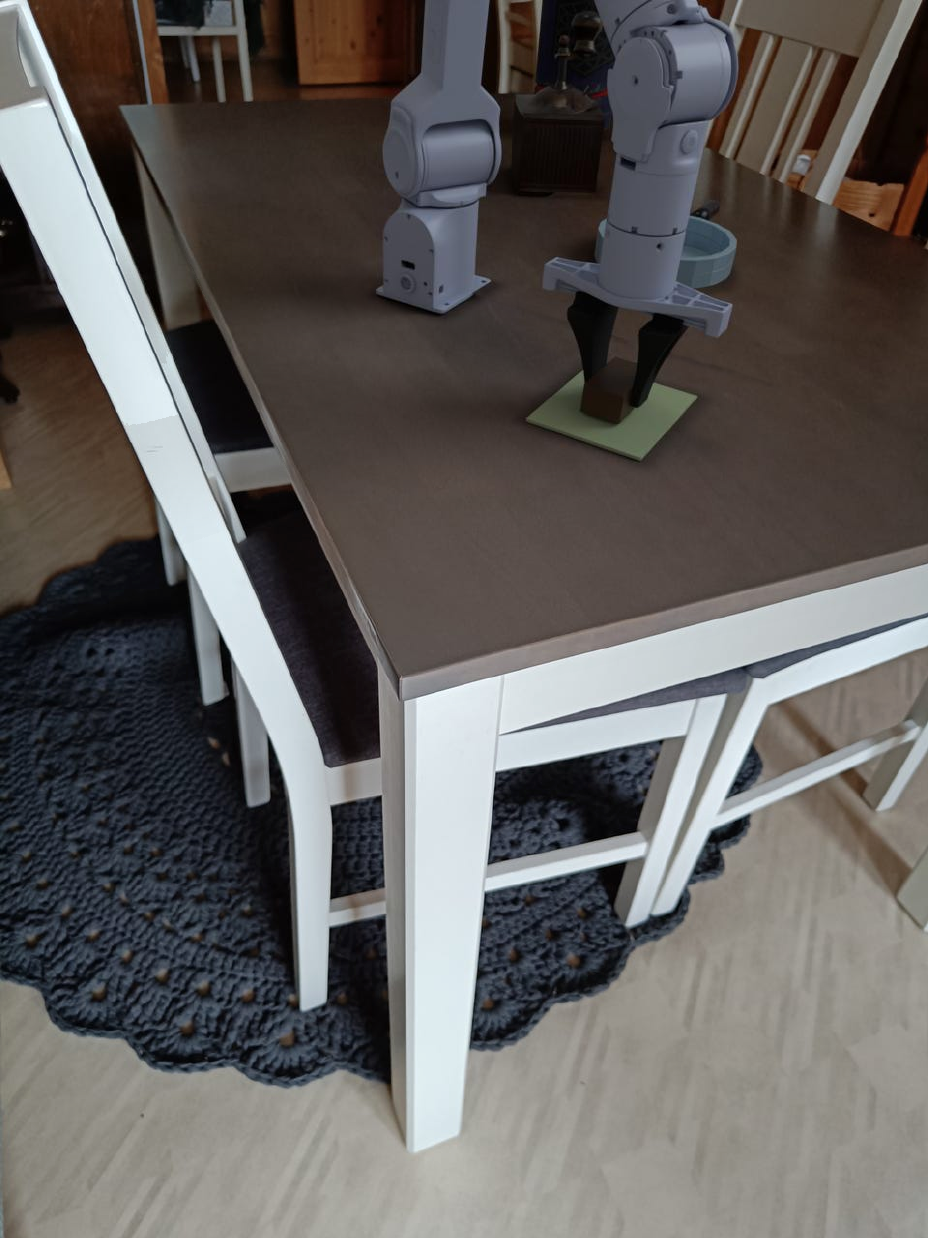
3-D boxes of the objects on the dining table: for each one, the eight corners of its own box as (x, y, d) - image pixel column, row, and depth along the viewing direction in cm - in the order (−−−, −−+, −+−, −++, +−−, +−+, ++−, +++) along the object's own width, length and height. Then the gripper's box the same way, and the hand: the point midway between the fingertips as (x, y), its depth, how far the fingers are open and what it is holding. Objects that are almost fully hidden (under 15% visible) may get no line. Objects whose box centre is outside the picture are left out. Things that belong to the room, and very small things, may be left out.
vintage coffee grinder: (601, 198, 115) (625, 31, 103) (515, 195, 114) (529, 27, 102) (583, 161, 126) (602, 8, 114) (504, 158, 125) (516, 3, 113)
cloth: (640, 461, 69) (640, 457, 69) (525, 421, 73) (525, 418, 72) (696, 398, 77) (697, 395, 76) (590, 365, 80) (591, 362, 80)
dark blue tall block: (615, 143, 134) (654, -117, 114) (535, 141, 133) (560, -123, 113) (598, 119, 144) (631, -125, 124) (524, 116, 143) (545, -130, 123)
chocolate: (618, 425, 72) (623, 396, 70) (579, 411, 73) (583, 383, 71) (648, 395, 76) (654, 367, 74) (610, 383, 77) (615, 355, 75)
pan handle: (694, 235, 102) (698, 218, 100) (680, 231, 102) (683, 214, 101) (719, 215, 107) (723, 199, 106) (705, 212, 107) (708, 196, 106)
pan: (700, 305, 91) (708, 271, 89) (571, 270, 96) (575, 237, 94) (746, 262, 101) (755, 230, 98) (627, 232, 106) (632, 201, 104)
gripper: (762, 230, 64) (717, 401, 74) (580, 187, 70) (559, 352, 79) (729, 259, 60) (686, 438, 69) (537, 211, 65) (520, 383, 74)
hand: (616, 394), depth 74 cm, fingers closed on chocolate, 3 cm apart
